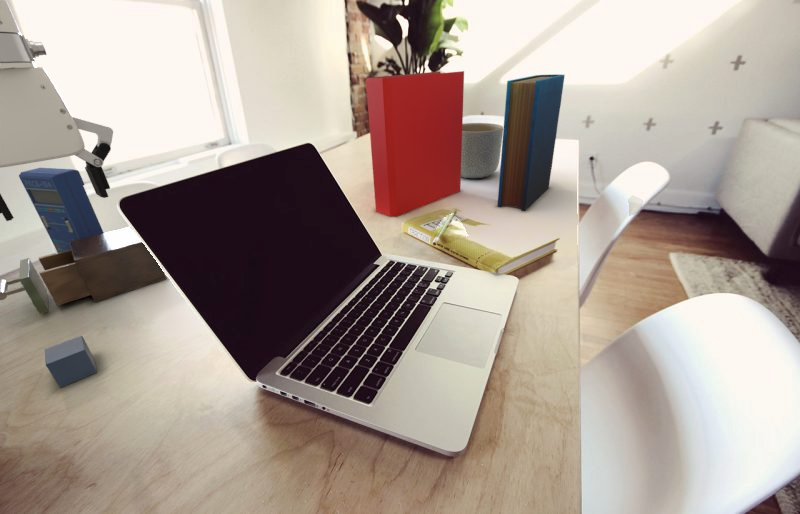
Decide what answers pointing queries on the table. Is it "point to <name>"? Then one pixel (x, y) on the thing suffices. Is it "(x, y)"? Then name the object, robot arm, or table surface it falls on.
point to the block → (70, 361)
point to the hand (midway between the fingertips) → (58, 206)
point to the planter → (480, 149)
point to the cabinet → (115, 263)
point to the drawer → (49, 281)
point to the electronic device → (61, 204)
